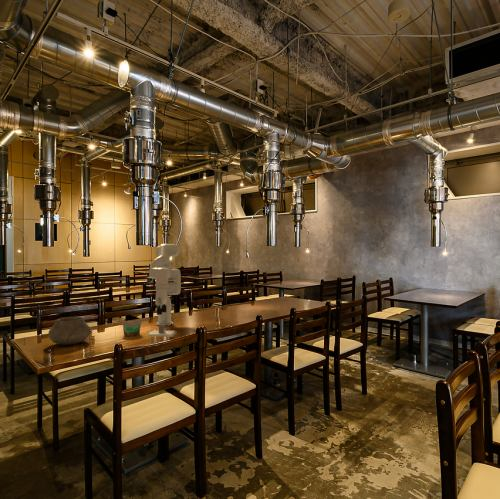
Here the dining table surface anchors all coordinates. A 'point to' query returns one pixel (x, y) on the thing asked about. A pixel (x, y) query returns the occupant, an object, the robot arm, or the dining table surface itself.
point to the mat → (163, 336)
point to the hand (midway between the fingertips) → (161, 313)
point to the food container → (131, 328)
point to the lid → (161, 331)
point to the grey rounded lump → (69, 331)
